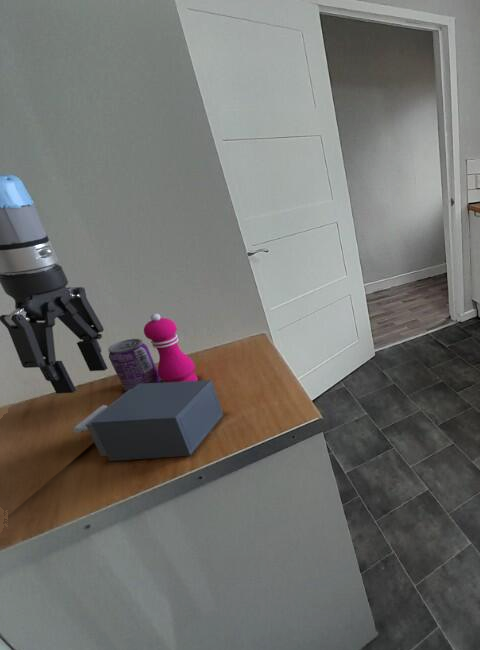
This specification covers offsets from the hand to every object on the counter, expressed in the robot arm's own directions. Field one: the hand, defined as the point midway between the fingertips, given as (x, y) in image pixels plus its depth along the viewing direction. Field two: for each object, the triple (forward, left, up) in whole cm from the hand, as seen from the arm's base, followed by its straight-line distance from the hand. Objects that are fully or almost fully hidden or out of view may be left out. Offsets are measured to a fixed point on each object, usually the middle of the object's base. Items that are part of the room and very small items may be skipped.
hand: (83, 380), depth 79 cm
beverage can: (-7, +20, -15) cm, 26 cm away
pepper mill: (+2, +20, -15) cm, 25 cm away
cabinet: (+11, 0, -15) cm, 19 cm away
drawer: (+7, 0, -14) cm, 16 cm away
